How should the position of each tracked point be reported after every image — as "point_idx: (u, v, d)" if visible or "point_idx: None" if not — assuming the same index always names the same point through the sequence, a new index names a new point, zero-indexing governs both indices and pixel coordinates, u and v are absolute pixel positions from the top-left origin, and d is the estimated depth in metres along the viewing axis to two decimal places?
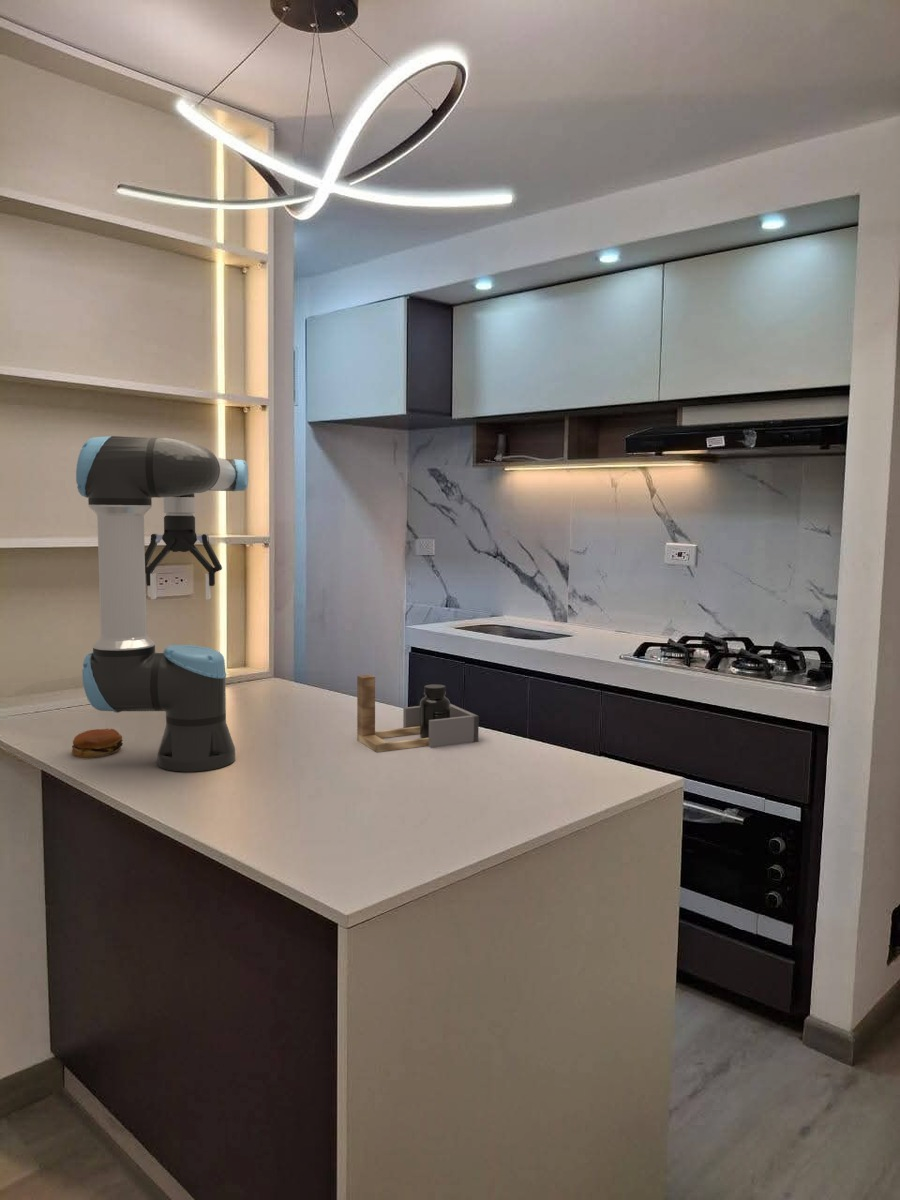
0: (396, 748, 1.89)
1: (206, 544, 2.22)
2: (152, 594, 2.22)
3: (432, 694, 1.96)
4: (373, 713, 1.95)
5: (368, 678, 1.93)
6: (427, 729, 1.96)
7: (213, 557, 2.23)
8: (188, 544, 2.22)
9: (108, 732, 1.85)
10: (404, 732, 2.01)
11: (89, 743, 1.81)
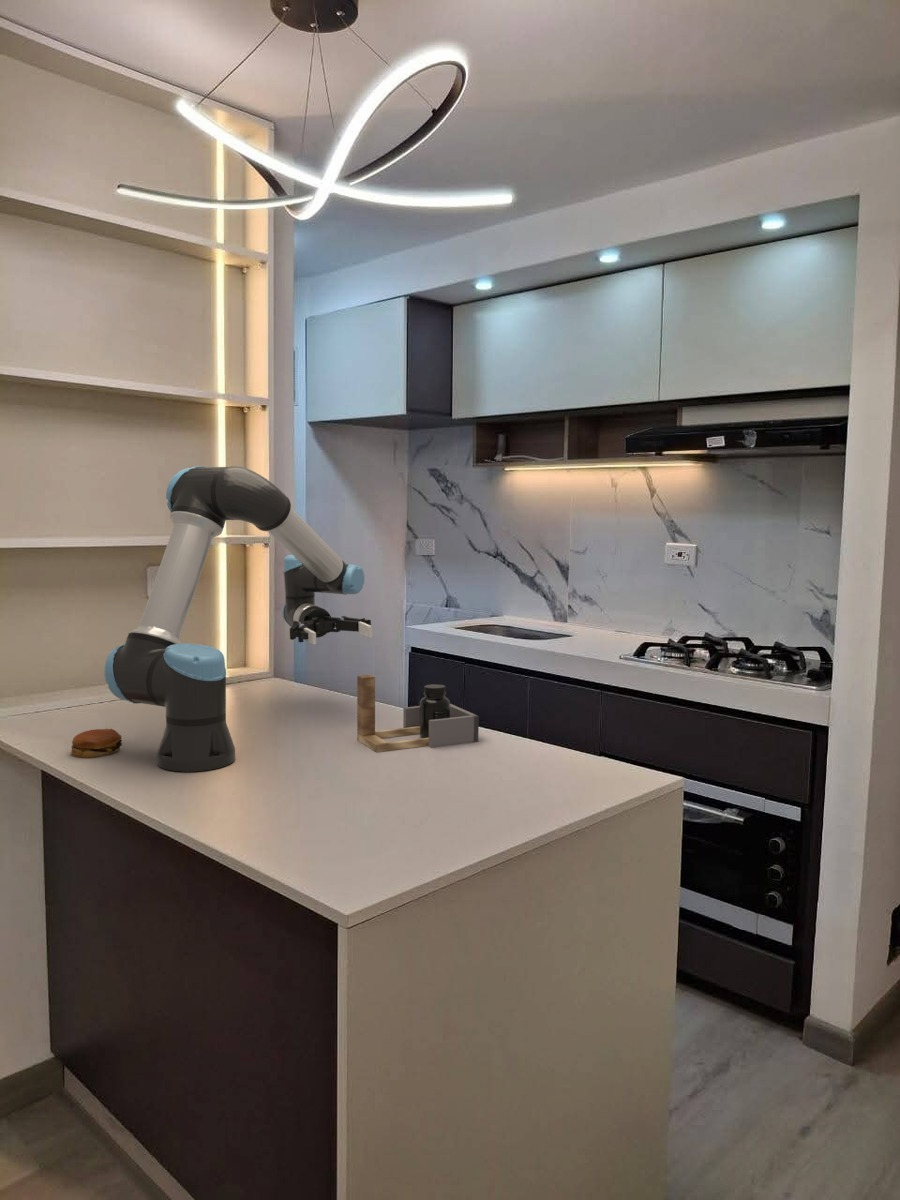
0: (396, 748, 1.89)
1: (348, 617, 2.18)
2: (312, 631, 2.01)
3: (432, 694, 1.96)
4: (373, 713, 1.95)
5: (368, 678, 1.93)
6: (427, 729, 1.96)
7: (359, 619, 2.16)
8: (331, 617, 2.16)
9: (107, 732, 1.85)
10: (404, 732, 2.01)
11: (88, 743, 1.81)
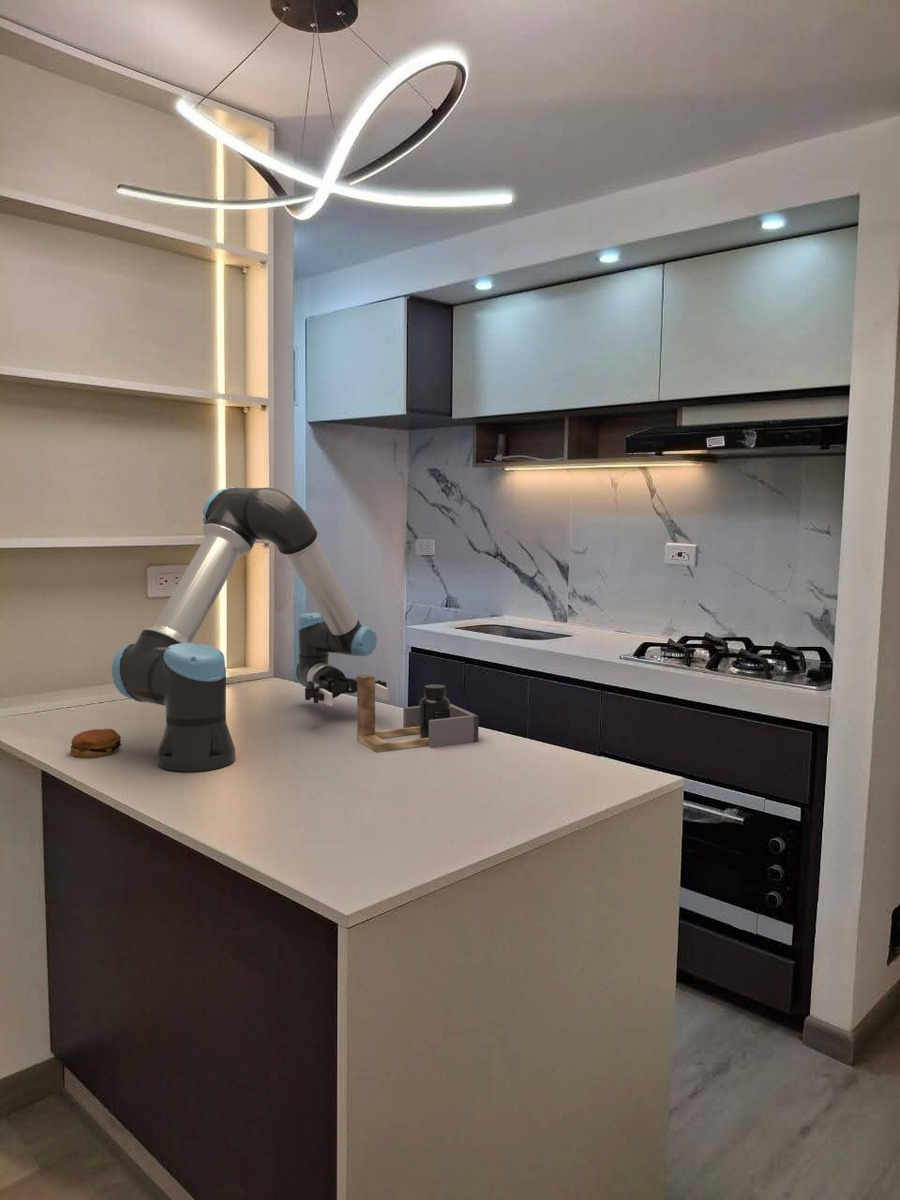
0: (396, 748, 1.89)
1: None
2: (329, 692, 1.98)
3: (432, 694, 1.96)
4: (373, 713, 1.95)
5: (368, 678, 1.93)
6: (427, 729, 1.96)
7: None
8: (347, 678, 2.14)
9: (107, 732, 1.85)
10: (404, 732, 2.01)
11: (88, 743, 1.81)
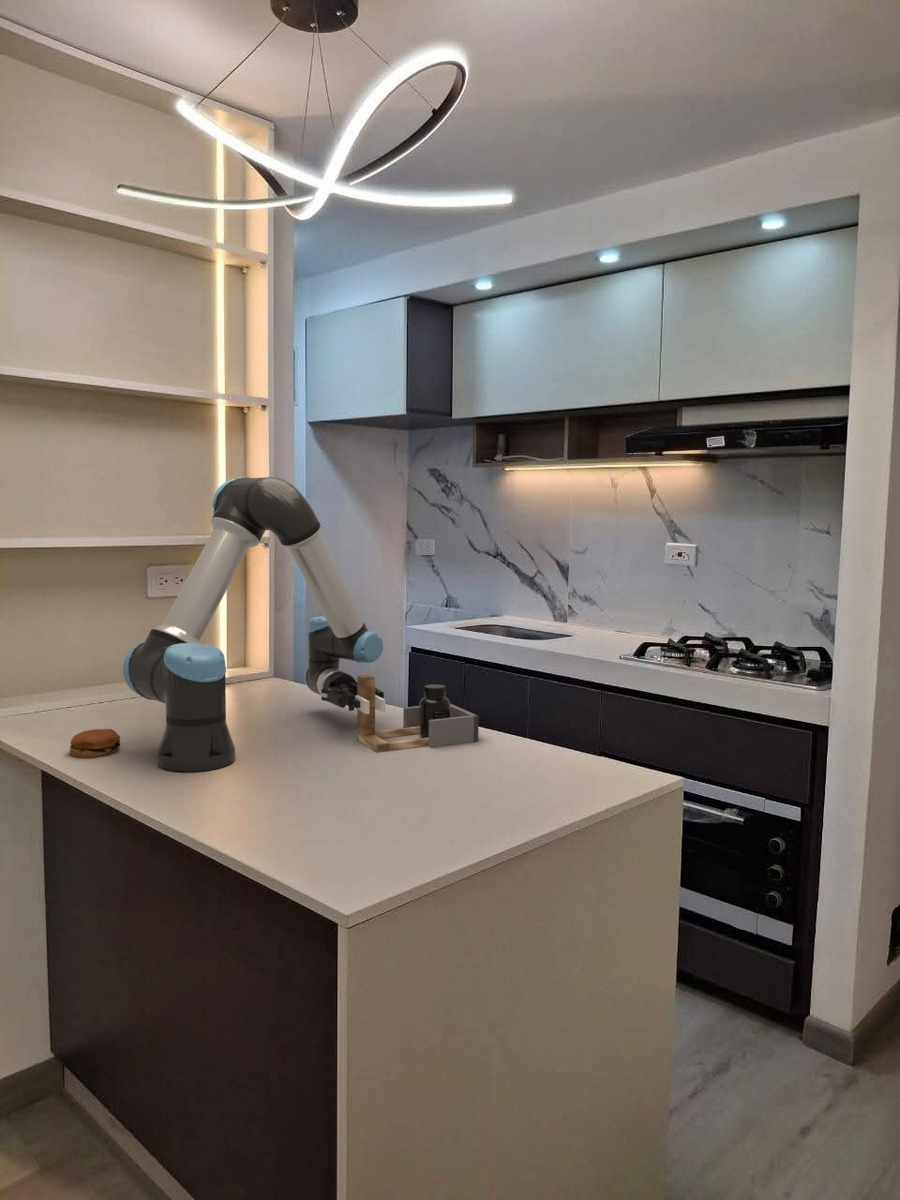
0: (396, 748, 1.89)
1: None
2: (365, 700, 1.91)
3: (432, 694, 1.96)
4: (373, 713, 1.95)
5: (368, 678, 1.93)
6: (427, 729, 1.96)
7: (378, 690, 2.02)
8: (356, 685, 2.05)
9: (106, 732, 1.85)
10: (404, 732, 2.01)
11: (87, 743, 1.81)
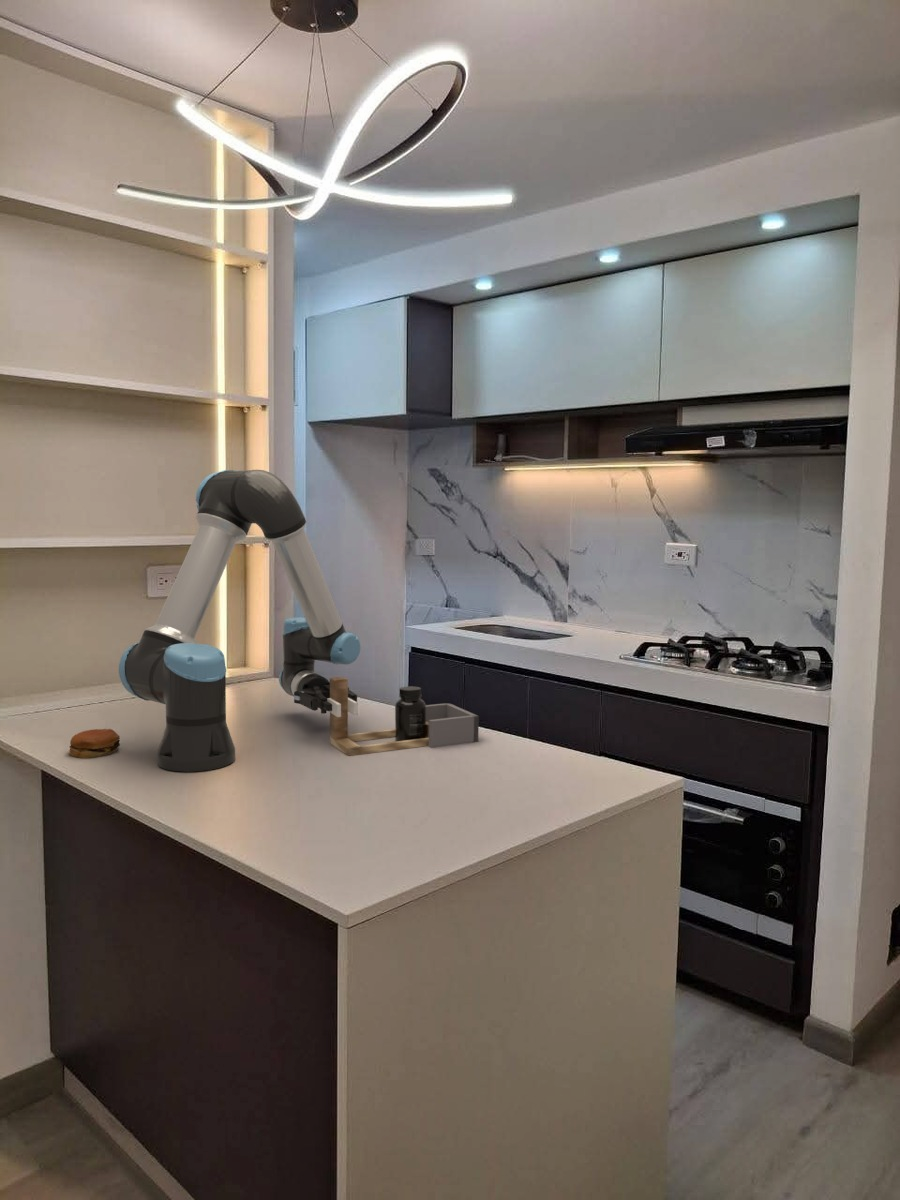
0: (368, 751, 1.86)
1: None
2: (337, 703, 1.88)
3: (407, 696, 1.94)
4: (346, 716, 1.92)
5: (340, 680, 1.91)
6: (402, 732, 1.94)
7: (351, 692, 1.99)
8: None
9: (105, 732, 1.85)
10: (378, 735, 1.98)
11: (86, 743, 1.81)
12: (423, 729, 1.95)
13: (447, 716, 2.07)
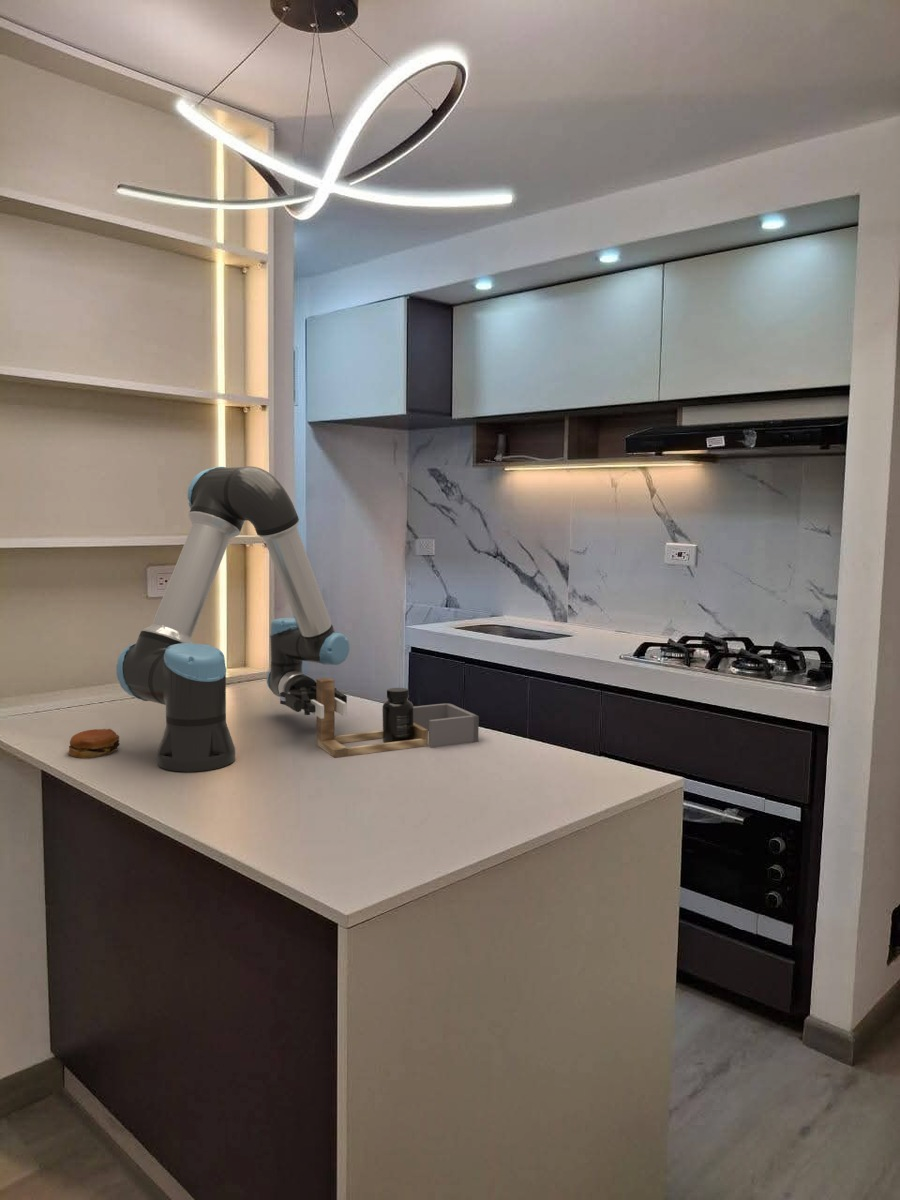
0: (355, 753, 1.85)
1: (335, 690, 2.01)
2: (320, 704, 1.86)
3: (394, 698, 1.92)
4: (332, 717, 1.90)
5: (327, 681, 1.89)
6: (389, 733, 1.92)
7: (340, 693, 1.98)
8: None
9: (105, 732, 1.85)
10: (365, 737, 1.97)
11: (86, 743, 1.81)
12: (411, 730, 1.94)
13: (447, 716, 2.07)
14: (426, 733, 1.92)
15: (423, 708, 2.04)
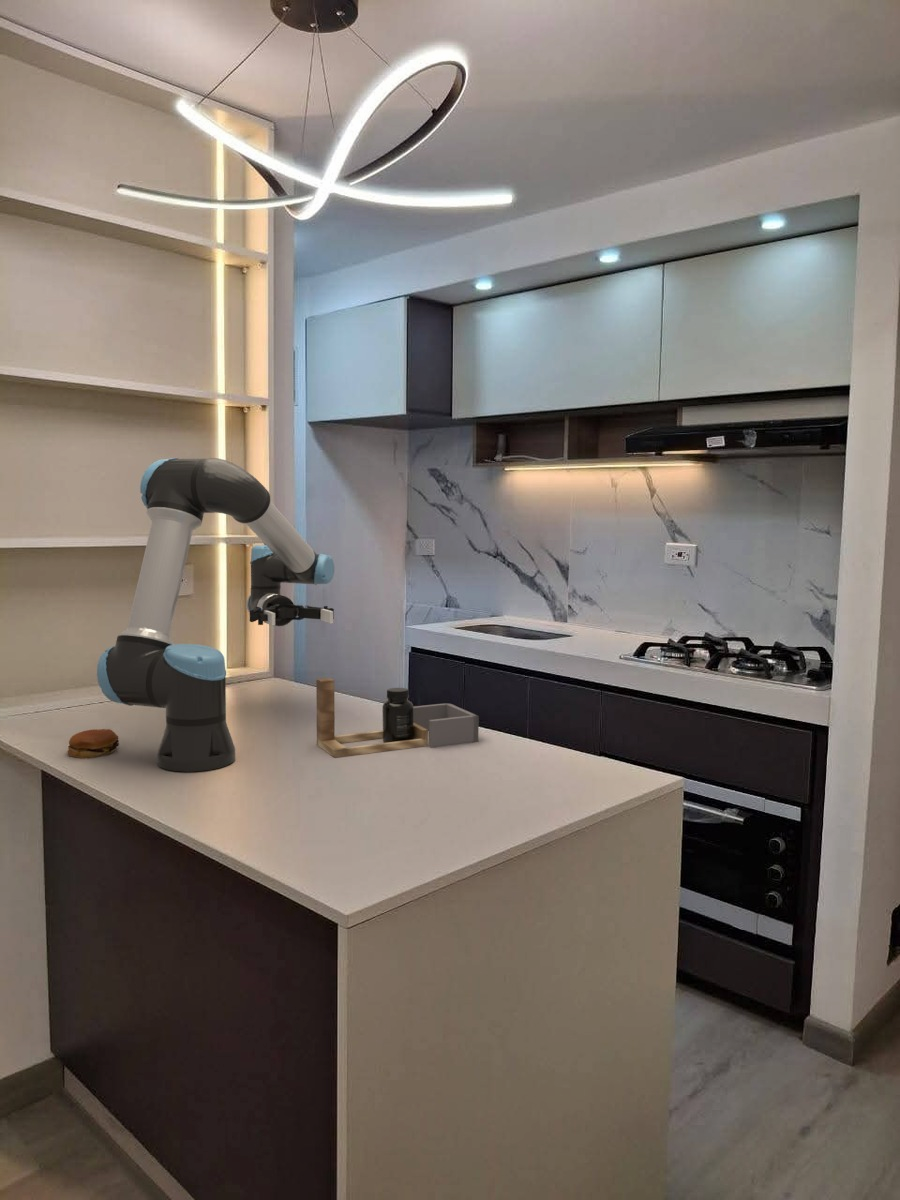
0: (355, 753, 1.85)
1: None
2: (272, 612, 1.98)
3: (394, 698, 1.92)
4: (332, 717, 1.90)
5: (327, 681, 1.89)
6: (389, 733, 1.92)
7: None
8: (294, 605, 2.14)
9: (104, 732, 1.85)
10: (365, 737, 1.97)
11: (85, 743, 1.81)
12: (411, 730, 1.94)
13: (447, 716, 2.07)
14: (426, 733, 1.92)
15: (423, 708, 2.04)
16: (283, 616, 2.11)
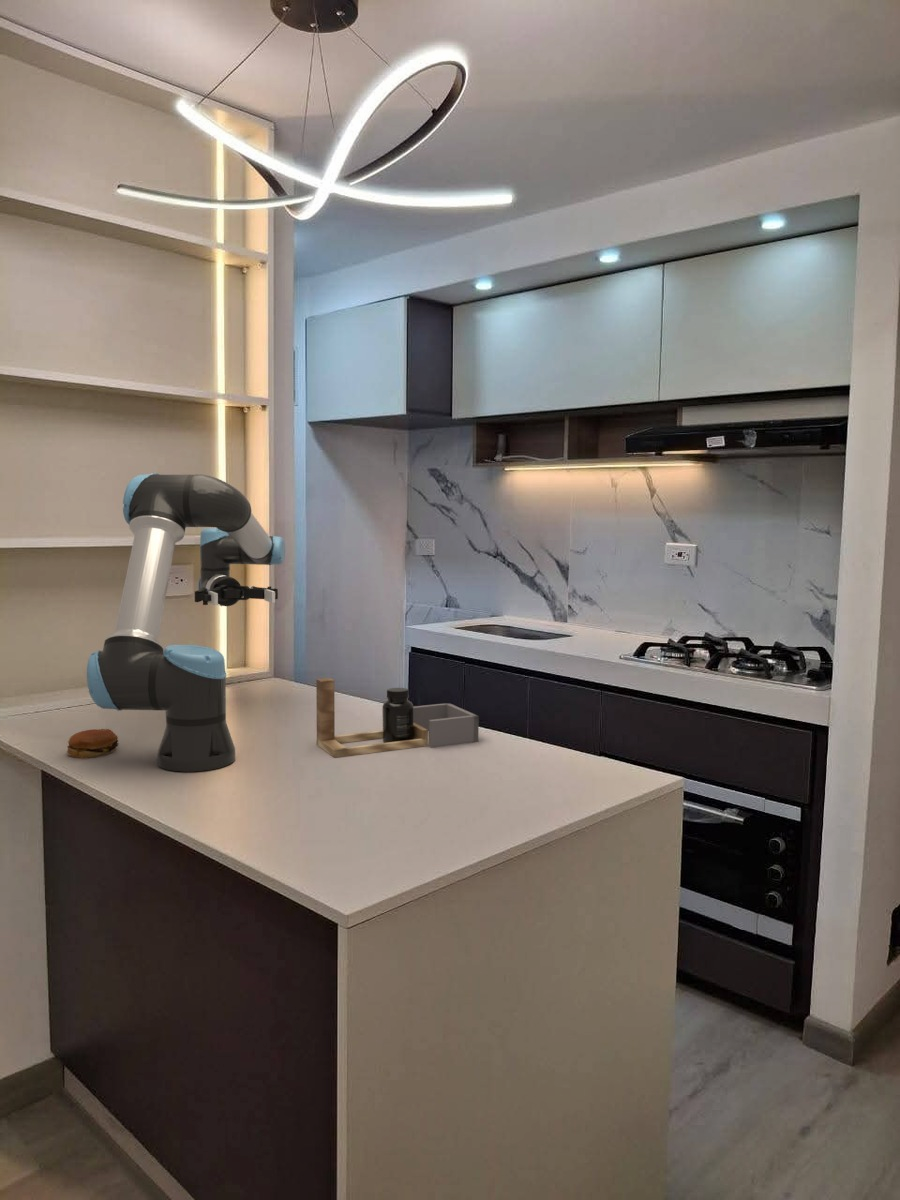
0: (355, 753, 1.85)
1: (257, 587, 2.24)
2: (215, 593, 2.07)
3: (394, 697, 1.92)
4: (332, 717, 1.90)
5: (327, 681, 1.89)
6: (389, 733, 1.92)
7: (267, 588, 2.22)
8: (240, 586, 2.22)
9: (104, 732, 1.85)
10: (365, 737, 1.97)
11: (84, 743, 1.81)
12: (411, 730, 1.94)
13: (447, 716, 2.07)
14: (426, 733, 1.92)
15: (423, 708, 2.04)
16: (229, 596, 2.19)
